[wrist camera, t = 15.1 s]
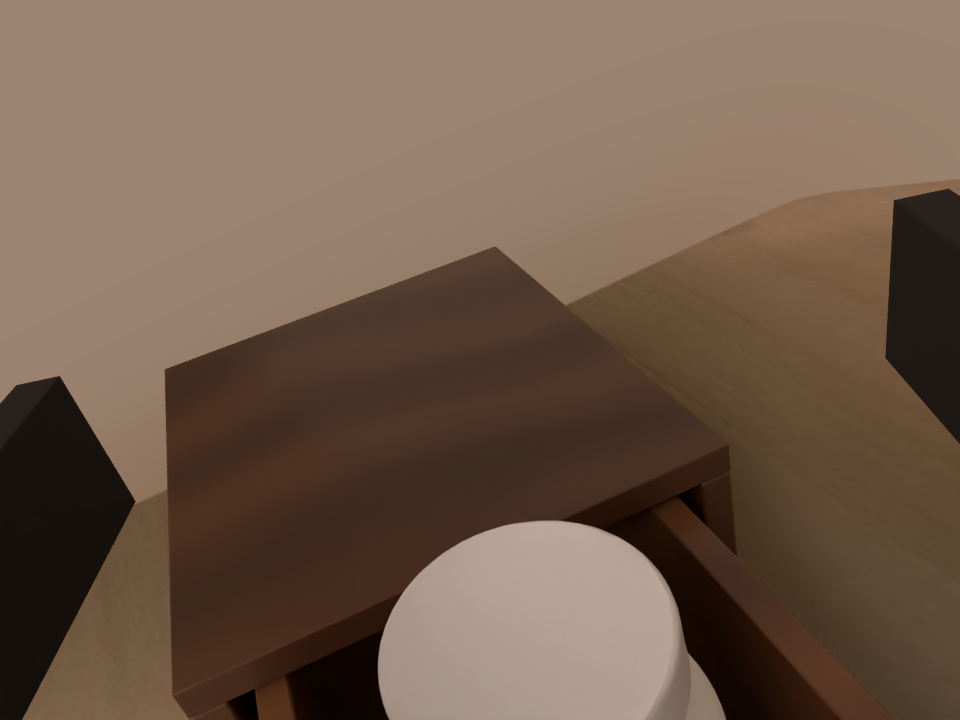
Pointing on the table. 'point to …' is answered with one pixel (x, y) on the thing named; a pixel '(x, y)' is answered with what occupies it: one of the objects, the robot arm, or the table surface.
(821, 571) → the table surface
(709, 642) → the drawer
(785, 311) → the table surface
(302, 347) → the cabinet
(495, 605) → the pill bottle
